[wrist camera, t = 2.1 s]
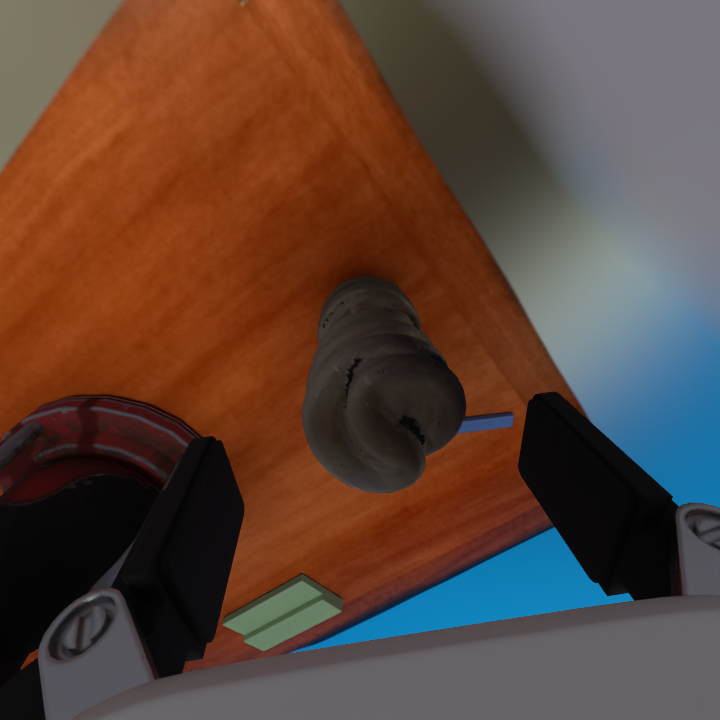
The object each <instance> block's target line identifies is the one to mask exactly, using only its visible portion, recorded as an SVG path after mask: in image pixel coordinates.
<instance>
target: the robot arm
mask: <svg viewBox="0 0 720 720" xmlns="http://www.w3.org/2000/svg"><path fill="white" fill-rule="evenodd" d="M518 468H519V472H520V475H521V477H522V478H523V480H524V481H525V483H526V484H527V486H528V487H529V489H530V490H531V492H532V493H533V495H534V496H535V498H536V499H537V501H538V502H539V504H540V505H541V507H542V508H543V510H544V511H545V513H546V514H547V516H548V517H549V519H550V520H551V522H552V523H553V525H554V526H555V528H556V529H557V531H558V532H559V533H560V535H561V536H562V538H563V540H564V541H565V543H566V544H567V545H568V547H569V548H570V550H571V551H572V553H573V554H574V556H575V557H576V559H577V560H578V562H579V563H580V565H581V566H582V568H583V569H584V571H585V572H586V574H587V575H588V577H589V578H590V579H591V580H592V581H593V582H595V583H599V585H600V586H601V588H602V589H603V591H604V592H605V593H606V595H607V596H611V595H618V594H624V593H629V594H630V595H631V597H632V598H633V599H634V601H629V602H621V603H614V604H606V605H598V606H592V607H585V608H578V609H572V610H565V611H558V612H552V613H545V614H538V615H532V616H525V617H518V618H512V619H506V620H498V621H492V622H485V623H480V624H472V625H466V626H459V627H454V628H447V629H441V630H434V631H427V632H422V633H415V634H408V635H402V636H396V637H389V638H383V639H377V640H370V641H364V642H358V643H351V644H345V645H340V646H333V647H327V648H321V649H315V650H308V651H302V652H296V653H290V654H283V655H277V656H271V657H265V658H259V659H254V660H248V661H243V662H237V663H232V664H226V665H221V666H215V667H210V668H204V669H199V670H194V671H190V672H186V673H182V671H183V668H184V664H185V661H192V660H198V659H203V656H204V652H205V648H206V644H207V643H209V642H212V640H213V638H214V636H215V633H216V629H217V625H218V620H219V616H220V612H221V608H222V604H223V600H224V595H225V591H226V587H227V583H228V579H229V575H230V570H231V566H232V562H233V558H234V554H235V550H236V546H237V541H238V537H239V533H240V529H241V525H242V521H243V516H244V502H243V499H242V497H241V494H240V491H239V488H238V485H237V482H236V480H235V477H234V474H233V471H232V468H231V466H230V463H229V460H228V457H227V454H226V451H225V449H224V446H223V443H222V441H221V440H217V441H216V439H215V438H214V437H213V436H209V437H201V438H194V439H192V440H191V441H190V443H189V444H188V446H187V448H186V450H185V452H184V454H183V456H182V458H181V460H180V462H179V464H178V466H177V468H176V470H175V472H174V474H173V476H172V478H171V479H170V481H169V483H168V485H167V487H166V489H164V490H163V491H162V492H161V493H160V495H159V496H158V498H157V500H156V502H155V504H154V506H153V507H152V509H151V511H150V513H149V515H148V517H147V519H146V521H145V523H144V525H143V526H142V528H141V530H140V532H139V534H138V536H137V538H136V540H135V542H134V544H133V545H132V547H131V549H130V551H129V553H128V555H127V557H126V559H125V561H124V563H123V564H122V566H121V568H120V570H119V572H118V574H117V576H116V578H115V580H114V582H113V584H112V585H111V587H110V588H101V589H98V590H95V591H92V592H89V593H87V594H86V595H84V596H82V597H80V598H78V599H77V600H75V601H74V602H73V603H72V604H70V605H69V606H68V607H67V608H65V609H64V610H63V611H62V612H61V613H60V614H59V615H58V617H57V618H56V619H55V620H54V621H53V622H52V624H51V625H50V627H49V628H48V629H47V631H46V632H45V634H44V636H43V638H42V641H41V643H40V646H39V652H38V658H36V659H35V660H34V661H33V662H31V663H30V664H29V665H27V666H26V667H25V668H24V669H22V670H21V671H20V672H18V673H17V674H16V675H15V676H13V677H12V678H11V679H9V680H8V681H7V682H6V683H4V684H3V685H2V686H0V720H720V508H718V507H716V506H712V505H708V504H704V503H687V504H683V505H681V506H680V507H679V506H678V505H677V504H675V503H674V502H673V501H672V497H673V496H671V494H669V493H668V492H667V491H666V490H665V489H664V488H663V487H662V486H660V485H659V484H658V483H657V482H656V481H655V480H654V479H653V478H652V477H651V476H650V475H648V474H647V473H646V472H645V471H644V470H643V469H642V468H641V467H640V466H638V465H637V464H636V463H635V462H634V461H633V460H632V459H631V458H630V457H628V456H627V455H626V454H625V453H624V452H623V451H622V450H621V449H620V448H619V447H617V446H616V445H615V444H614V443H613V442H612V441H611V440H610V439H609V438H607V437H606V436H605V435H604V434H603V433H602V432H601V431H600V430H599V429H598V428H596V427H595V426H594V425H593V424H592V423H591V422H590V421H589V420H588V419H586V418H585V417H584V416H583V415H582V414H581V413H580V412H579V411H578V410H577V409H575V408H574V407H573V406H572V405H571V404H570V403H569V402H568V401H567V400H565V399H564V398H563V397H562V396H561V395H560V394H559V393H557V392H548V393H540V394H536V395H534V397H533V399H531V400H529V402H528V407H527V413H526V419H525V425H524V432H523V438H522V444H521V450H520V456H519V462H518Z"/></svg>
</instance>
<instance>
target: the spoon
mask: <svg viewBox="0 0 720 720" xmlns="http://www.w3.org/2000/svg"><path fill="white" fill-rule="evenodd" d="M513 419H514V415H513V414H512V412H509V413H501V414H493V415H484V416H476V417H468V418H464V420H463V422H462V425H461V427H460V429H459V431H458V432H457V433H464V432H472V431H480V430H489V429H497V428H505V427H512V425H513Z"/></svg>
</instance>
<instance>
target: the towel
mask: <svg viewBox="0 0 720 720" xmlns="http://www.w3.org/2000/svg"><path fill="white" fill-rule="evenodd" d="M342 607H343V600H342V599H341V598H339V597H338V596H336V595H335V594H333V593H332V592H330V591H329V590H327V589H325V588H324V587H322V586H321V585H319V584H318V583H316V582H315V581H313V580H311V579H310V578H308V577H307V576H305V575H304V574H301V575H299V576H297V577H295V578H294V579H292V580H290V581H288V582H286V583H285V584H283V585H281V586H279V587H277V588H276V589H274V590H272V591H270V592H269V593H267V594H265V595H263V596H261V597H260V598H258V599H256V600H254V601H252V602H251V603H249V604H247V605H245V606H243V607H242V608H240V609H238V610H236V611H235V612H233V613H231V614H229V615H227V616H226V617H224V619H223V623H222V625H224V626H226V627H228V628H230V629H232V630H234V631H236V632H238V633H240V634H242V635H244V640H243V642H245V643H247V644H249V645H252V646H254V647H256V648H258V649H260V650H262V651H265V650H267V649H269V648H271V647H273V646H275V645H277V644H279V643H281V642H283V641H285V640H287V639H289V638H291V637H293V636H295V635H297V634H299V633H301V632H303V631H305V630H307V629H309V628H311V627H313V626H315V625H317V624H319V623H321V622H322V621H324V620H326V619H328V618H330V617H332V616H334V615H336V614H338V613H340V612H342Z"/></svg>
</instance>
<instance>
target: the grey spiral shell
mask: <svg viewBox="0 0 720 720" xmlns="http://www.w3.org/2000/svg"><path fill="white" fill-rule="evenodd" d="M318 344H319V346H318V348H317V351H316V353H315V355H314V360H313V364H312V366H311V369H310V371H309V375H308V380H307V384H306V394H305V399H304V404H303V409H302V419H303V427H304V432H305V435H306V438H307V441H308V443H309V446H310V448H311V450H312V453H313V454H314V456H315V457H316V458H317V460H318V461H319V462H320V464H321V465H322V466H323V467H324V468H325V469H326V470H327V471H328V472H329V473H330V474H332V475H333V476H334V477H336V478H337V479H338V480H340V481H342V482H343V483H345V484H347V485H348V486H350V487H353V488H356V489H359V490H363V491H368V492H375V493H391V492H394V491H398V490H401V489H404V488H406V487H409V486H411V485H413V484H414V483H415V482H416V481H417V480H418V479H419V478H420V476H421V474H422V472H423V470H424V468H425V456H427V455H429V454H431V453H433V452H435V451H437V450H439V449H441V448H442V447H444V446H445V445H446V444H447V443H448V442H449V441H450V440H451V439H452V438H453V437H454V436H455V435H456V433H457V432H458V431H459V429H460V427H461V425H462V422H463V420H464V418H465V413H466V400H465V394H464V389H463V387H462V385H461V383H460V382H459V380H458V378H457V376H456V375H455V374H454V373H453V372H452V371H451V370H450V369H449V368H448V365H447V362H446V361H445V359H444V358H443V356H442V355H441V353H440V352H439V351H438V350H437V349H436V348H434V346H433V344H432V342H431V341H430V340H429V338H428V337H427V336H426V335H425V334H424V333H423V332H421V323H420V320H419V316H418V313H417V312H416V310H415V308H414V306H413V305H412V303H411V302H410V300H409V299H408V298H407V297H406V295H405V294H404V293H403V292H402V291H401V290H400V288H399V287H398V286H396V285H395V284H393V283H392V282H390V281H388V280H386V279H382V278H378V277H374V276H360V277H356V278H352V279H349V280H347V281H345V282H343V283H342V284H340V285H339V286H337V287H336V288H335V290H334V291H333V292H332V293H331V294H330V295H329V297H328V298H327V300H326V302H325V304H324V306H323V308H322V312H321V316H320V321H319V329H318Z"/></svg>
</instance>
